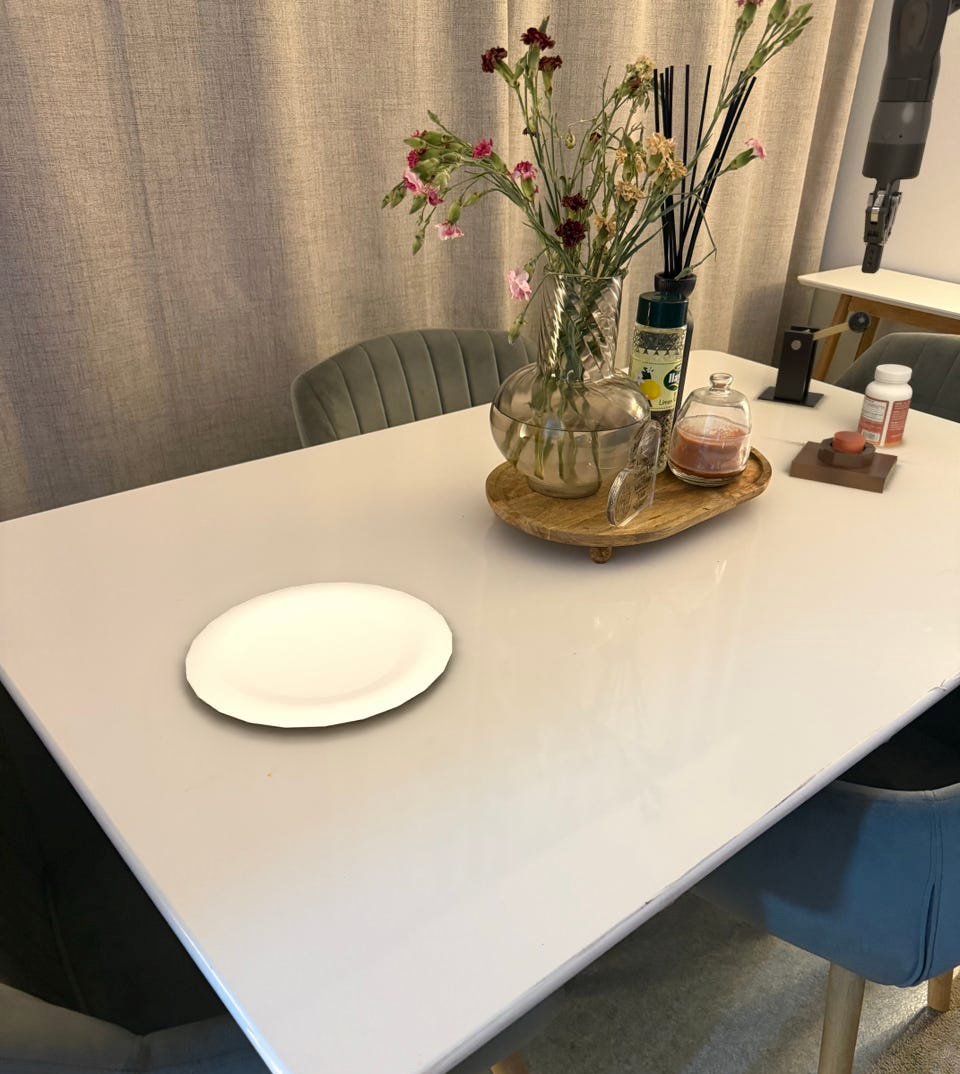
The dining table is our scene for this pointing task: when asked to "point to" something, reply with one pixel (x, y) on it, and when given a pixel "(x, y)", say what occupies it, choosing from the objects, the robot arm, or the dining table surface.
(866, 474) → the switch box
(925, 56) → the robot arm
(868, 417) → the pill bottle
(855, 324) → the switch lever
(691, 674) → the dining table surface
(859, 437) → the button
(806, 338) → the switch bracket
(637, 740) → the dining table surface
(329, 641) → the plate
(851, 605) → the dining table surface
